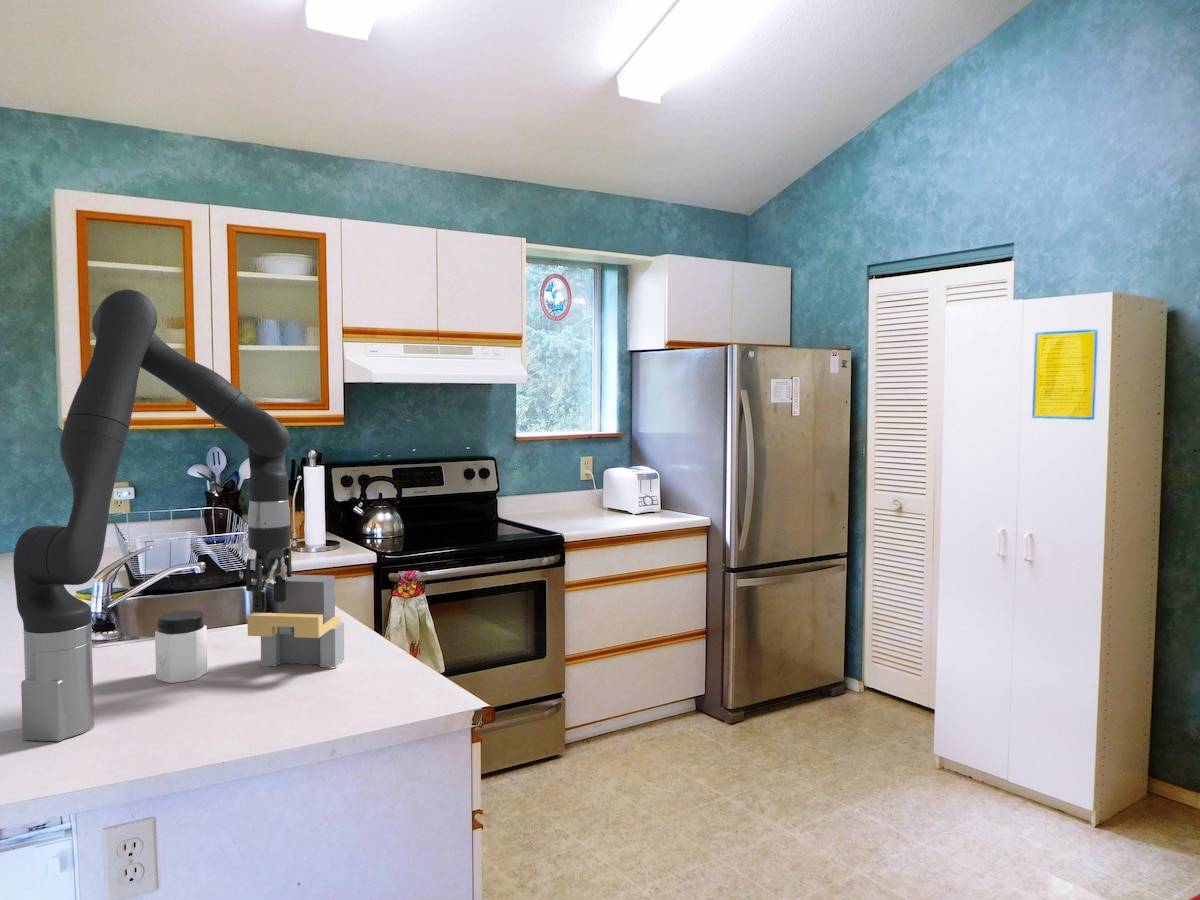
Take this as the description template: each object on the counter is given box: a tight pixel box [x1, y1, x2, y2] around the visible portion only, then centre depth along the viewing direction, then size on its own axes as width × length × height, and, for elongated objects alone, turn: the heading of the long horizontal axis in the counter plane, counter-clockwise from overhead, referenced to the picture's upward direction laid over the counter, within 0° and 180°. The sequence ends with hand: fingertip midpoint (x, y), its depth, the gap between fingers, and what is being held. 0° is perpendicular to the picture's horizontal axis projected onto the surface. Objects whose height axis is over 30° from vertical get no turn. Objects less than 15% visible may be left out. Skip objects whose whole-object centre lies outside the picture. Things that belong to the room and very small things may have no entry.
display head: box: [260, 574, 345, 668], centre depth 170 cm, size 14×15×17 cm
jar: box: [154, 609, 209, 684], centre depth 163 cm, size 9×8×12 cm
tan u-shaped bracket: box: [247, 612, 341, 638], centre depth 169 cm, size 11×14×4 cm
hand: (270, 606), depth 164 cm, fingers open, 8 cm apart
